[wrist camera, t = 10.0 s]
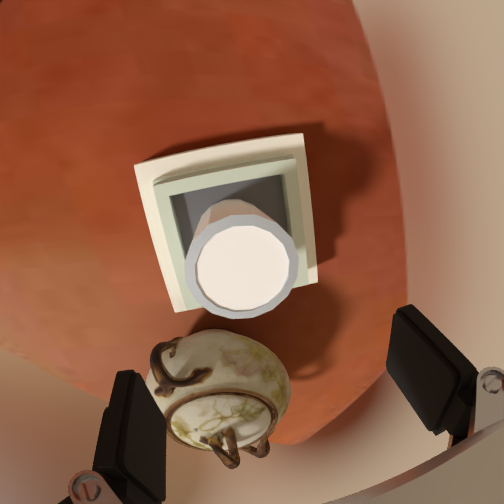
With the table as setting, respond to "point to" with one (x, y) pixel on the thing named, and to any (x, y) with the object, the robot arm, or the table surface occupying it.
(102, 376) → the table surface
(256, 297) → the white short cylinder
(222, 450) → the sugar bowl
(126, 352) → the table surface
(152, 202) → the stand
